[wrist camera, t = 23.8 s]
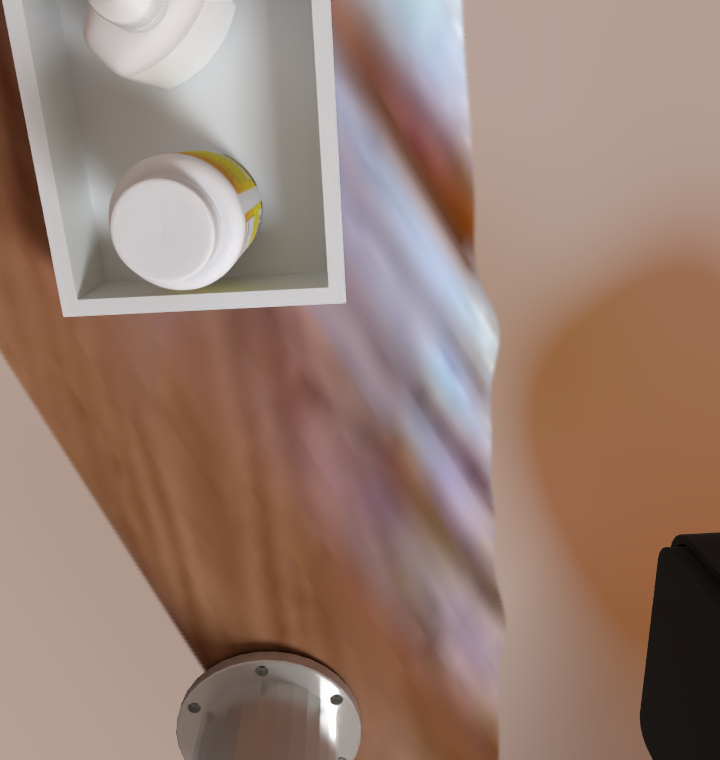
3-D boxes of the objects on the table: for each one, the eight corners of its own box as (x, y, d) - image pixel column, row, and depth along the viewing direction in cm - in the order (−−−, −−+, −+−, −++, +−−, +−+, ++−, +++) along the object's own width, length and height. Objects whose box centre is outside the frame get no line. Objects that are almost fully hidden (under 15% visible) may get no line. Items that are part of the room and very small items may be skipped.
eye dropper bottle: (257, 61, 33) (214, 20, 22) (149, 97, 33) (52, 75, 22) (225, -37, 32) (161, -137, 20) (112, 2, 32) (-11, -74, 21)
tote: (345, 282, 38) (346, 302, 33) (98, 294, 37) (63, 317, 33) (325, -91, 32) (323, -132, 27) (33, -79, 32) (-21, -117, 27)
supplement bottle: (143, 160, 34) (66, 168, 25) (251, 140, 34) (216, 140, 25) (172, 269, 36) (111, 315, 27) (274, 250, 36) (250, 290, 26)
